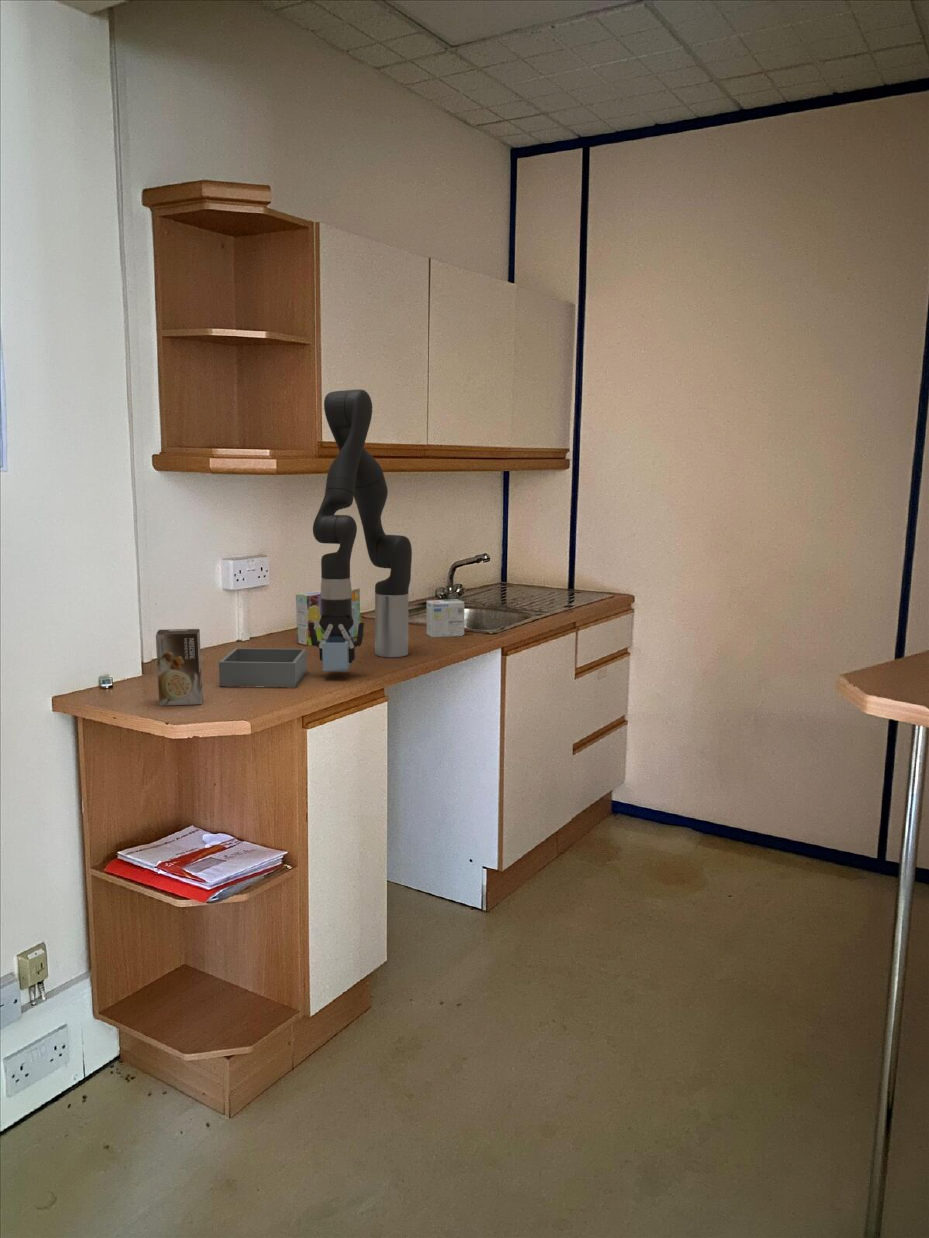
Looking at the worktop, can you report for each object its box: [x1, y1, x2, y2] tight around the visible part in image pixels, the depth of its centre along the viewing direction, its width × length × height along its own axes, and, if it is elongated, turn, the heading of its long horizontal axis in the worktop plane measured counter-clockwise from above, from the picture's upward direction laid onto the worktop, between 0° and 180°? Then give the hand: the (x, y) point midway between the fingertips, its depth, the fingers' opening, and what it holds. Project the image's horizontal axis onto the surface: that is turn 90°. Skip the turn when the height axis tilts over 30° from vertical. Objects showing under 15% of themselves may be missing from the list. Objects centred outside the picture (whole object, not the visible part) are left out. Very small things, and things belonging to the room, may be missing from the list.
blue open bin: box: [322, 636, 352, 672], centre depth 243 cm, size 10×6×7 cm, turn 1°
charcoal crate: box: [218, 647, 308, 689], centre depth 239 cm, size 17×18×6 cm
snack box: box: [295, 586, 361, 647], centre depth 290 cm, size 21×6×15 cm, turn 141°
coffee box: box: [155, 628, 204, 707], centre depth 216 cm, size 9×6×16 cm
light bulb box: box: [425, 598, 465, 639], centre depth 301 cm, size 11×7×11 cm, turn 111°
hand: (337, 662), depth 244 cm, fingers closed on blue open bin, 6 cm apart
